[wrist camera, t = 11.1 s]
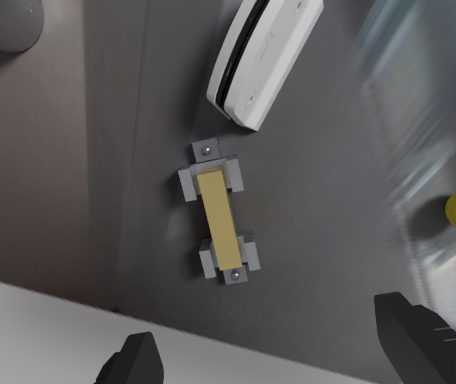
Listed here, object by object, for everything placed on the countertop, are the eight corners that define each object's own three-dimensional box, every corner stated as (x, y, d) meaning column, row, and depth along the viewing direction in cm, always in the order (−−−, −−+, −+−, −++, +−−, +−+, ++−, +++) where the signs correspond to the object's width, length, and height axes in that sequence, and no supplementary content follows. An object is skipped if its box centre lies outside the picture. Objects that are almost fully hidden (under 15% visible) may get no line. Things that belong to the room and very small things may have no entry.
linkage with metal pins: (212, 280, 44) (210, 296, 40) (178, 144, 39) (171, 148, 35) (261, 271, 43) (264, 287, 39) (233, 132, 38) (232, 135, 34)
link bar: (221, 259, 41) (220, 270, 38) (199, 170, 38) (196, 175, 35) (242, 255, 41) (242, 266, 38) (222, 166, 38) (221, 170, 35)
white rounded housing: (256, 134, 38) (231, 124, 29) (226, 117, 39) (193, 103, 30) (325, 4, 34) (323, -56, 25) (289, -10, 35) (275, -73, 26)
